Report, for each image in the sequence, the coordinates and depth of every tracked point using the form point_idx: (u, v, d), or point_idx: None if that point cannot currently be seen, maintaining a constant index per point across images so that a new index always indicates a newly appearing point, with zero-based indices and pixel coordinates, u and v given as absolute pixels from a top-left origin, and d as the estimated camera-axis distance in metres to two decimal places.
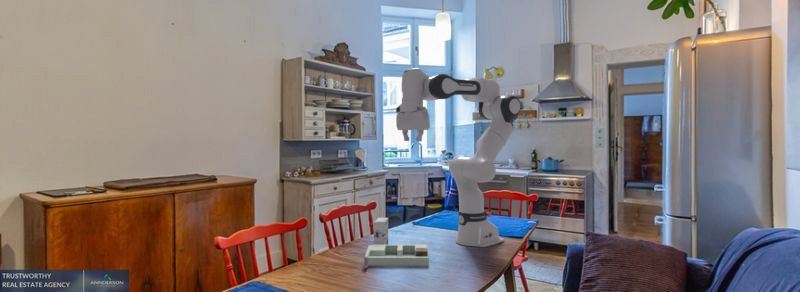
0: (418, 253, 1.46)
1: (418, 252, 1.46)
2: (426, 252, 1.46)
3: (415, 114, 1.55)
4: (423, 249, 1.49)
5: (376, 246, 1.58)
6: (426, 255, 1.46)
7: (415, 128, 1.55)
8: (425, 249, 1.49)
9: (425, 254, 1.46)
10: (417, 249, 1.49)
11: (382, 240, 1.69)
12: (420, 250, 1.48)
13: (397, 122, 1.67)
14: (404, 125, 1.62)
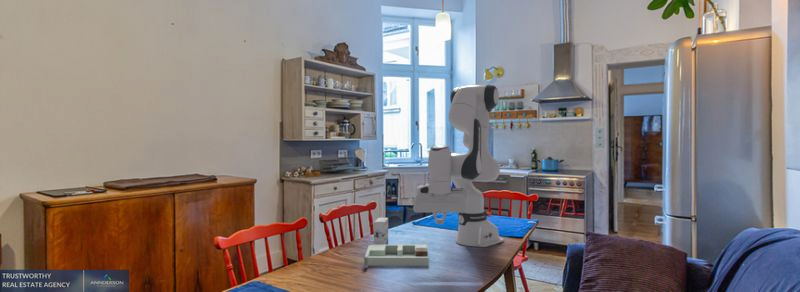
0: (418, 253, 1.46)
1: (418, 252, 1.46)
2: (426, 252, 1.46)
3: (453, 196, 1.46)
4: (423, 249, 1.49)
5: (376, 246, 1.58)
6: (426, 255, 1.46)
7: (452, 211, 1.46)
8: (425, 249, 1.49)
9: (425, 254, 1.46)
10: (417, 249, 1.49)
11: (382, 240, 1.69)
12: (420, 250, 1.48)
13: (416, 203, 1.46)
14: (430, 207, 1.46)
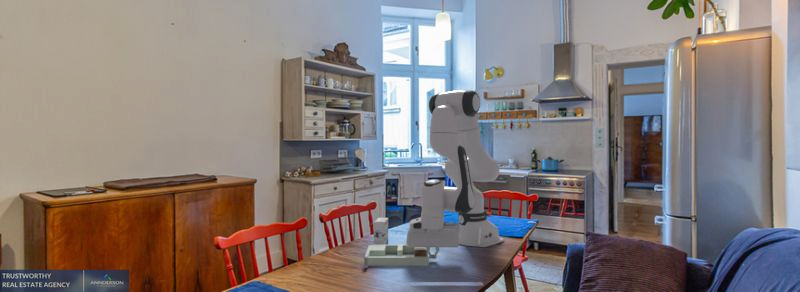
0: (417, 253, 1.46)
1: (417, 252, 1.46)
2: (425, 252, 1.46)
3: (446, 231, 1.46)
4: (422, 249, 1.49)
5: (376, 246, 1.58)
6: (425, 255, 1.46)
7: (445, 246, 1.46)
8: (424, 249, 1.49)
9: (424, 254, 1.46)
10: (416, 249, 1.49)
11: (382, 240, 1.69)
12: (419, 250, 1.48)
13: (409, 239, 1.46)
14: (423, 243, 1.46)
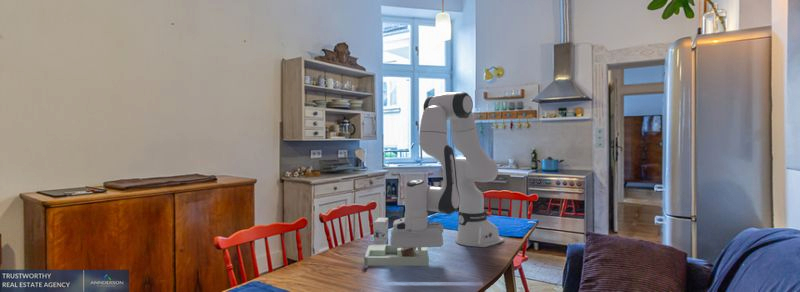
0: (404, 253, 1.46)
1: (404, 252, 1.46)
2: (412, 250, 1.46)
3: (429, 231, 1.46)
4: (408, 248, 1.48)
5: (376, 246, 1.58)
6: (412, 253, 1.46)
7: (429, 245, 1.46)
8: (410, 248, 1.48)
9: (411, 252, 1.46)
10: (402, 250, 1.48)
11: (382, 240, 1.69)
12: (406, 250, 1.47)
13: (393, 239, 1.46)
14: (407, 243, 1.46)
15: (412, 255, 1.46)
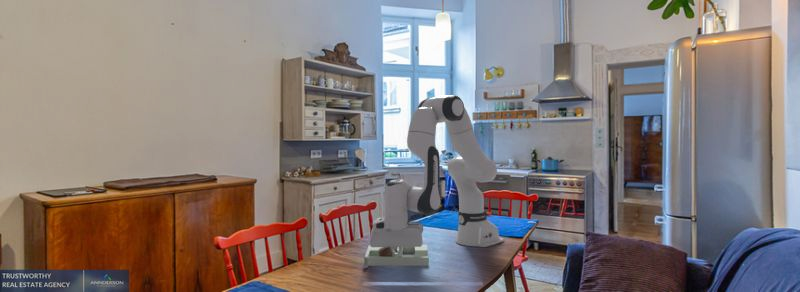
0: (381, 253, 1.46)
1: (381, 252, 1.46)
2: (389, 250, 1.46)
3: (409, 231, 1.46)
4: (386, 248, 1.48)
5: None
6: (390, 253, 1.46)
7: (409, 245, 1.46)
8: (387, 247, 1.49)
9: (388, 252, 1.46)
10: (380, 250, 1.48)
11: None
12: (383, 249, 1.47)
13: (372, 239, 1.46)
14: (387, 242, 1.46)
15: (389, 254, 1.46)
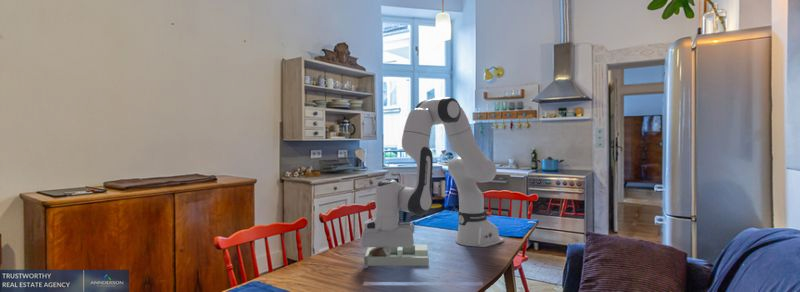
0: (373, 253, 1.46)
1: (374, 252, 1.46)
2: (381, 250, 1.46)
3: (400, 231, 1.46)
4: (378, 248, 1.49)
5: None
6: (382, 253, 1.46)
7: (400, 245, 1.46)
8: (380, 247, 1.49)
9: (380, 252, 1.46)
10: (372, 250, 1.49)
11: None
12: (376, 249, 1.47)
13: (363, 239, 1.46)
14: (378, 242, 1.46)
15: (382, 254, 1.46)
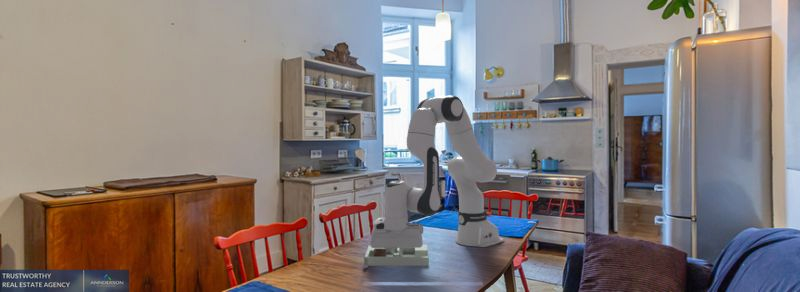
0: (376, 253, 1.46)
1: (376, 252, 1.46)
2: (384, 252, 1.46)
3: (409, 231, 1.47)
4: (381, 249, 1.49)
5: None
6: (384, 255, 1.46)
7: (409, 246, 1.47)
8: (383, 249, 1.49)
9: (383, 254, 1.46)
10: (375, 249, 1.49)
11: None
12: (379, 250, 1.48)
13: (372, 239, 1.47)
14: (387, 243, 1.47)
15: None
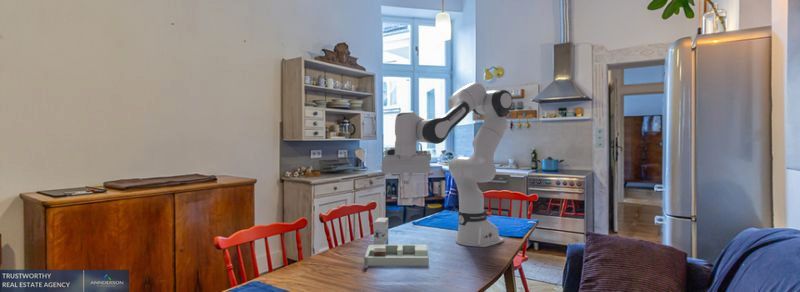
0: (376, 253, 1.46)
1: (376, 252, 1.46)
2: (384, 252, 1.46)
3: (417, 158, 1.57)
4: (381, 249, 1.49)
5: (376, 246, 1.58)
6: (384, 255, 1.46)
7: (417, 171, 1.58)
8: (383, 249, 1.49)
9: (383, 254, 1.46)
10: (375, 249, 1.49)
11: (382, 240, 1.69)
12: (379, 250, 1.48)
13: (384, 165, 1.58)
14: (397, 169, 1.58)
15: None
